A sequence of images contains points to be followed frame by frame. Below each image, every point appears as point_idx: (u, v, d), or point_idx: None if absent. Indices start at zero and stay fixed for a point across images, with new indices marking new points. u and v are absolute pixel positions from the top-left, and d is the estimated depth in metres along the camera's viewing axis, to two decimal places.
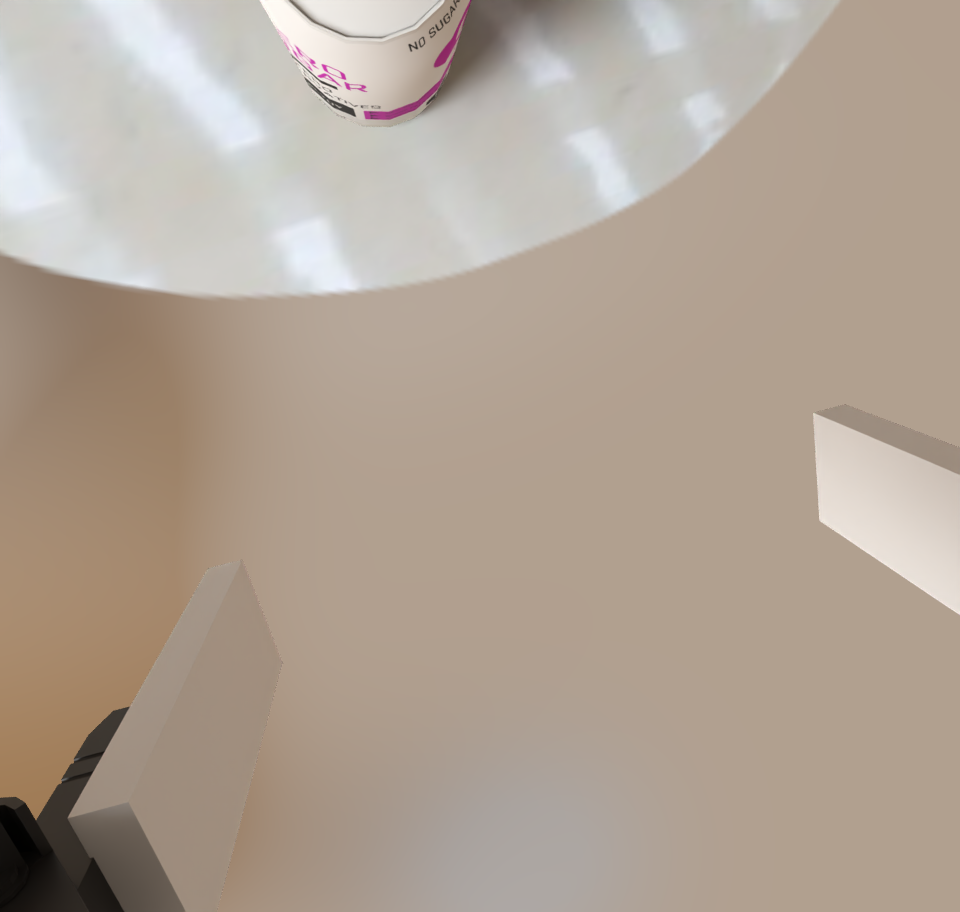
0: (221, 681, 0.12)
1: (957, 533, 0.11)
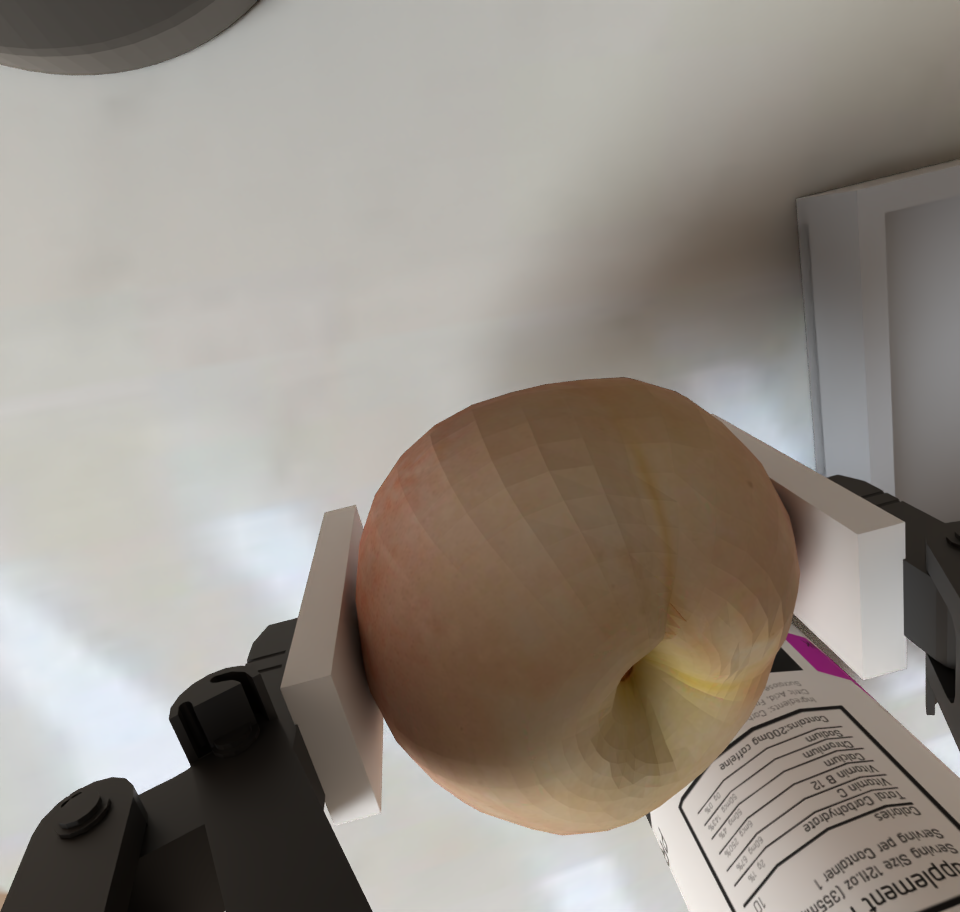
0: None
1: None
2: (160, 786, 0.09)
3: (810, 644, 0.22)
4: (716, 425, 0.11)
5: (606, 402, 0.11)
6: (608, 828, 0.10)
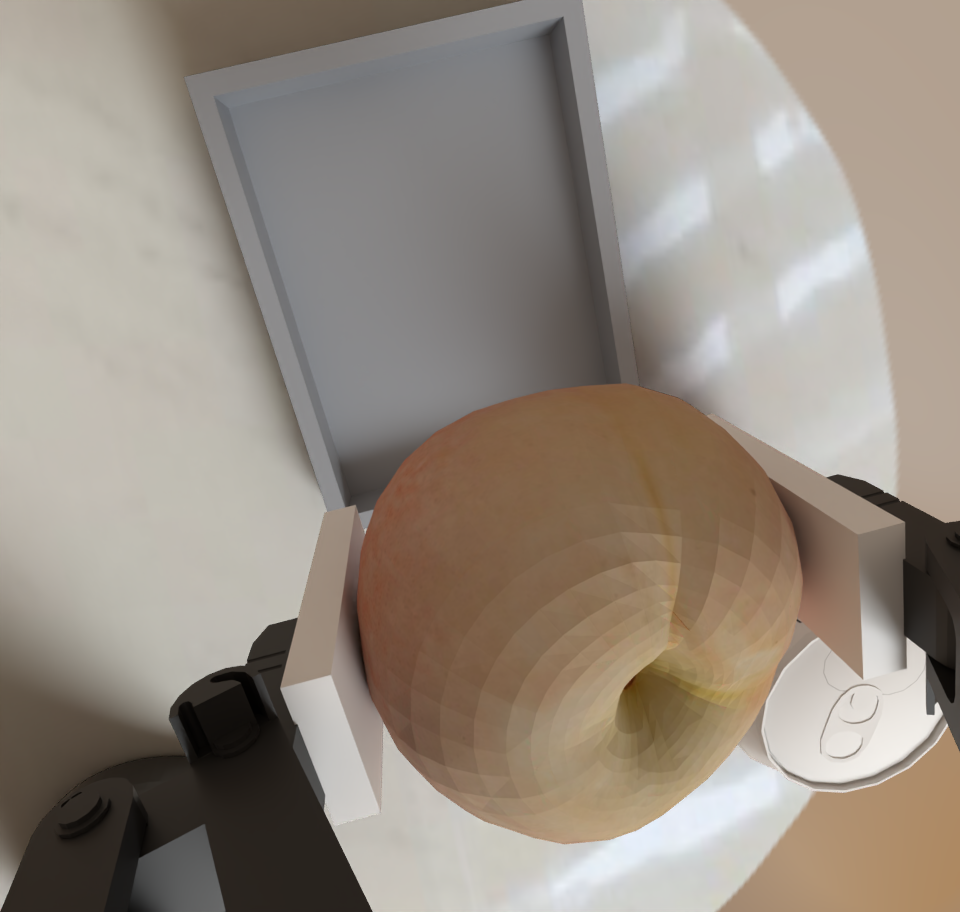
0: None
1: None
2: (160, 786, 0.09)
3: None
4: (719, 432, 0.11)
5: (608, 409, 0.11)
6: (610, 837, 0.10)
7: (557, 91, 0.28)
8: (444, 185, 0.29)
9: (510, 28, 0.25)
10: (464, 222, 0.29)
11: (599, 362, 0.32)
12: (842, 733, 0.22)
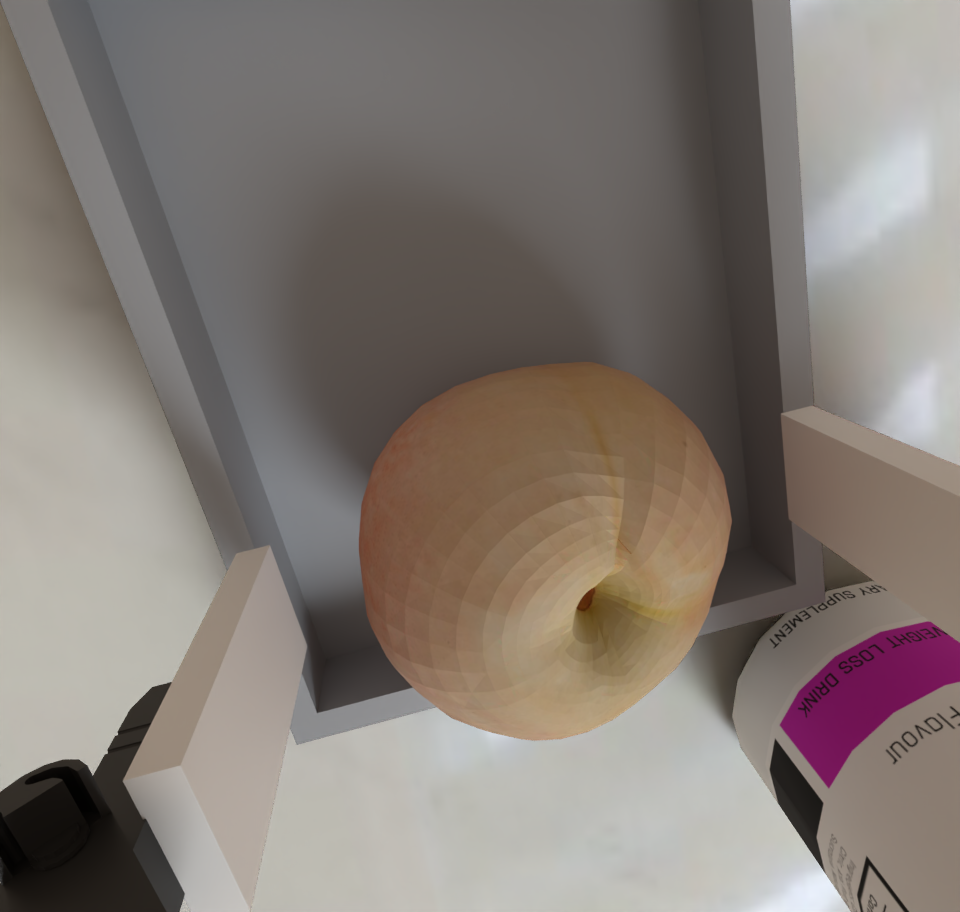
0: (255, 659, 0.12)
1: (911, 531, 0.12)
2: None
3: (806, 704, 0.19)
4: (660, 398, 0.13)
5: (567, 379, 0.13)
6: (572, 731, 0.12)
7: None
8: (486, 144, 0.16)
9: None
10: (520, 210, 0.17)
11: (735, 443, 0.19)
12: None
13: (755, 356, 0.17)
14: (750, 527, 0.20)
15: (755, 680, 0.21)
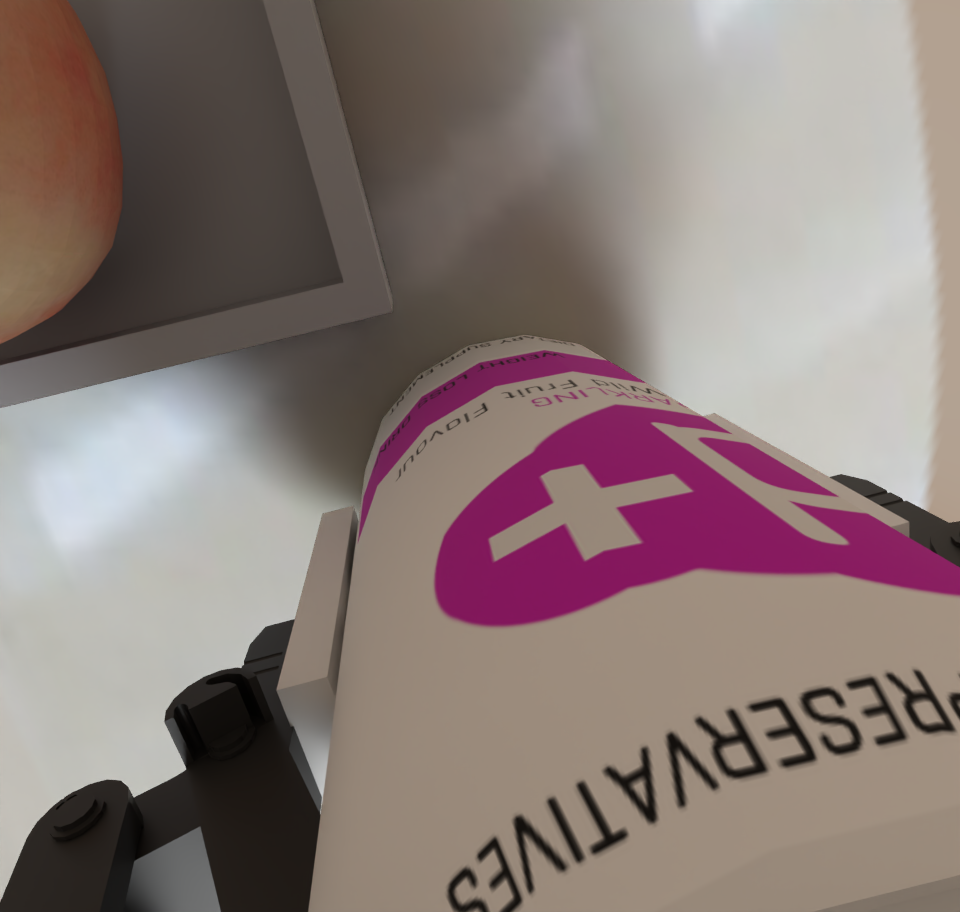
0: None
1: None
2: (156, 789, 0.09)
3: (378, 457, 0.14)
4: None
5: None
6: None
7: None
8: None
9: None
10: None
11: None
12: None
13: None
14: None
15: (370, 460, 0.16)
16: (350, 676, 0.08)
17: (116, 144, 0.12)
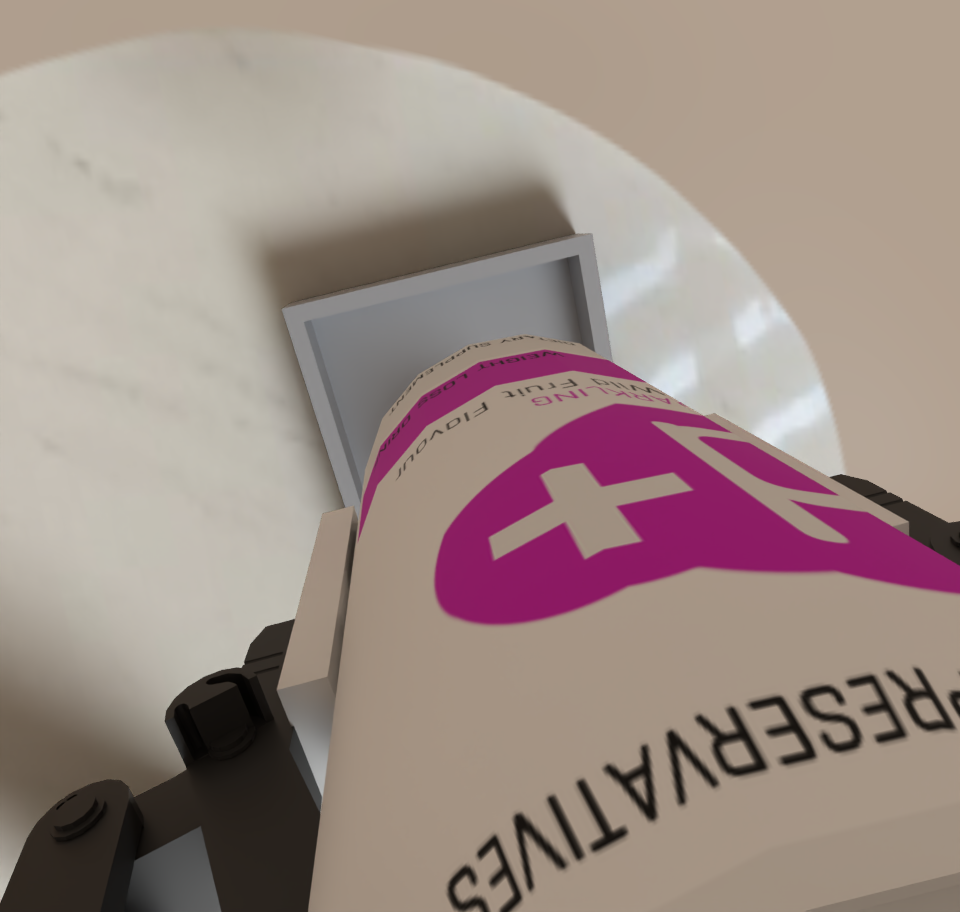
0: None
1: None
2: (156, 789, 0.09)
3: (378, 457, 0.14)
4: None
5: None
6: None
7: (572, 295, 0.35)
8: None
9: (536, 264, 0.32)
10: None
11: None
12: None
13: None
14: None
15: (370, 459, 0.16)
16: (350, 675, 0.08)
17: None
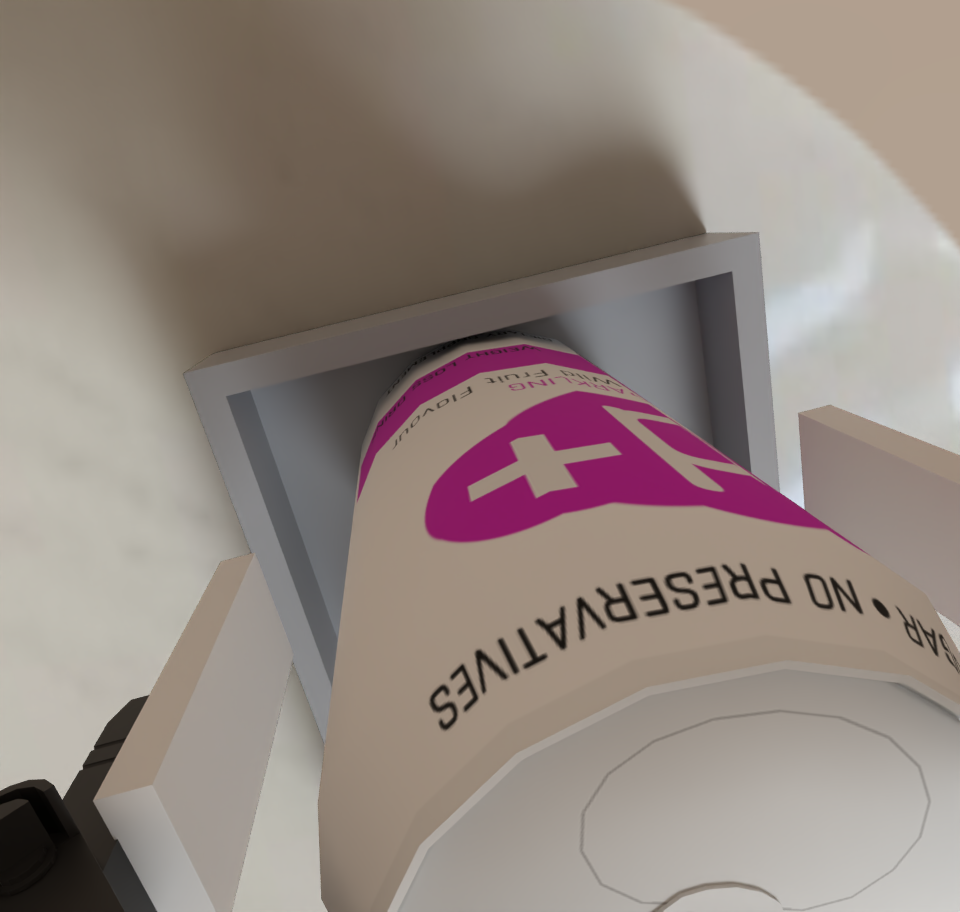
0: (237, 671, 0.12)
1: (936, 532, 0.12)
2: None
3: (376, 431, 0.16)
4: None
5: None
6: None
7: (699, 337, 0.20)
8: None
9: (655, 289, 0.17)
10: None
11: None
12: None
13: None
14: None
15: (367, 435, 0.19)
16: (355, 594, 0.10)
17: None
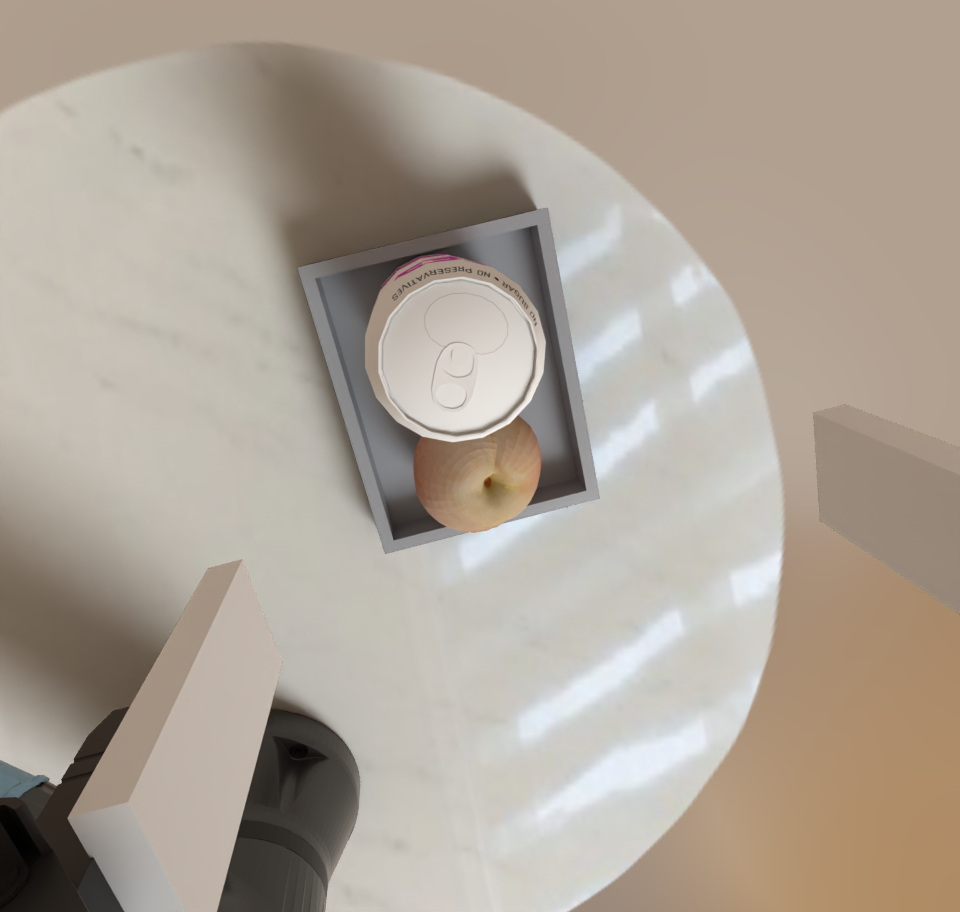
0: (221, 681, 0.12)
1: (957, 533, 0.11)
2: None
3: (380, 290, 0.39)
4: None
5: None
6: (482, 524, 0.40)
7: (535, 260, 0.43)
8: None
9: (503, 232, 0.40)
10: None
11: (566, 433, 0.46)
12: (448, 385, 0.29)
13: (566, 399, 0.44)
14: (575, 470, 0.47)
15: None
16: None
17: None
